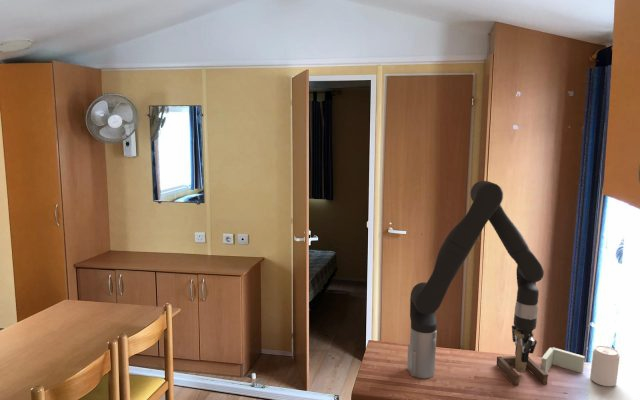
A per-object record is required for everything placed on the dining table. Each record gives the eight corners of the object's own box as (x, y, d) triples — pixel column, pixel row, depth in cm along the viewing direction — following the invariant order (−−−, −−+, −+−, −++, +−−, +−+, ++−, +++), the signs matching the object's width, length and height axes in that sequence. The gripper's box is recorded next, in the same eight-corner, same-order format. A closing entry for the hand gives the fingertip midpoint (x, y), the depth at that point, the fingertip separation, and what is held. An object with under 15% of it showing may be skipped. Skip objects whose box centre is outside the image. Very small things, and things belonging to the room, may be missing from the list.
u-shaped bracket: (514, 385, 170) (515, 375, 169) (496, 365, 184) (497, 356, 183) (547, 383, 171) (547, 374, 171) (526, 364, 185) (527, 355, 184)
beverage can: (618, 381, 173) (622, 350, 171) (613, 390, 168) (616, 358, 166) (593, 373, 179) (596, 342, 177) (587, 381, 173) (590, 350, 171)
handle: (531, 374, 175) (535, 335, 172) (514, 374, 175) (517, 334, 172) (526, 367, 180) (529, 329, 177) (508, 367, 180) (512, 329, 177)
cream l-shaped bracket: (542, 374, 177) (543, 359, 176) (529, 362, 186) (530, 348, 185) (585, 373, 179) (586, 357, 178) (570, 361, 188) (572, 346, 187)
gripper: (506, 306, 180) (502, 349, 183) (525, 322, 166) (521, 369, 169) (525, 306, 181) (521, 349, 184) (546, 322, 167) (541, 368, 170)
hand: (521, 358), depth 176 cm, fingers closed on handle, 4 cm apart
